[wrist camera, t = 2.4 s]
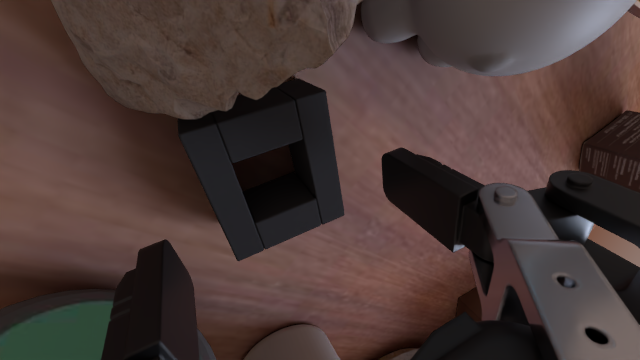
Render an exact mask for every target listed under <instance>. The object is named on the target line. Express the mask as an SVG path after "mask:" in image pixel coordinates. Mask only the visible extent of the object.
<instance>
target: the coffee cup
mask: <svg viewBox="0 0 640 360" xmlns="http://www.w3.org/2000/svg"><path fill="white" fill-rule="evenodd" d="M244 360H340V358H339V357H338V355H337V353H336V352H335V350H334V348H333V346H332V345H331V343H330V341H329V339H328V338H327V336H326V334H325V333H324V332H323V331H322V330H321V329H320V328H318V327H316V326H313V325H306V324H301V325H293V326H290V327H286V328H283V329H281V330H278V331H276V332H274V333H272V334H271V335H269V336H267V337H266V338H264V339H263V340H261V341H260V342H259V343H257V344H256V345H255V346H254V347H253V348H252V349H251V350H250V352H249V353H248V354H247V355H246V357H245V358H244Z"/></svg>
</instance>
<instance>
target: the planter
mask: <svg viewBox="0 0 640 360" xmlns="http://www.w3.org/2000/svg"><path fill="white" fill-rule="evenodd" d="M418 349H419V348H418ZM418 349H416V348H406V349H401V350H398V351H394V352H392V353H390V354H387V355H385V356H383V357H382V358H380V359H378V360H410V359H411V358H412V357H413V356H414V354H415V353H416V352H417V351H418Z"/></svg>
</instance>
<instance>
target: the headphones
mask: <svg viewBox="0 0 640 360" xmlns="http://www.w3.org/2000/svg"><path fill="white" fill-rule="evenodd" d="M114 295H115V290H107V289H84V290H69V291H63V292H58V293H53V294H48V295H42V296H38V297H35V298H32V299H29V300H25V301H22V302H19V303H16V304H13V305H9V306H7V307H5V308H2V309H0V360H101V357H102V352H103V347H104V343H105V338H106V333H107V328H108V324H109V321H111V319H110V314H111V309H112V307H113V300H114ZM197 334H198V346H199V358H200V360H216V358H215V356H214V353H213V351H212V349H211V347H210V345H209V344H208V342H207V341H206V339H205V338H204V336H203V335H202V333H201V332H200V331H199V330H198V329H197Z"/></svg>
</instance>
